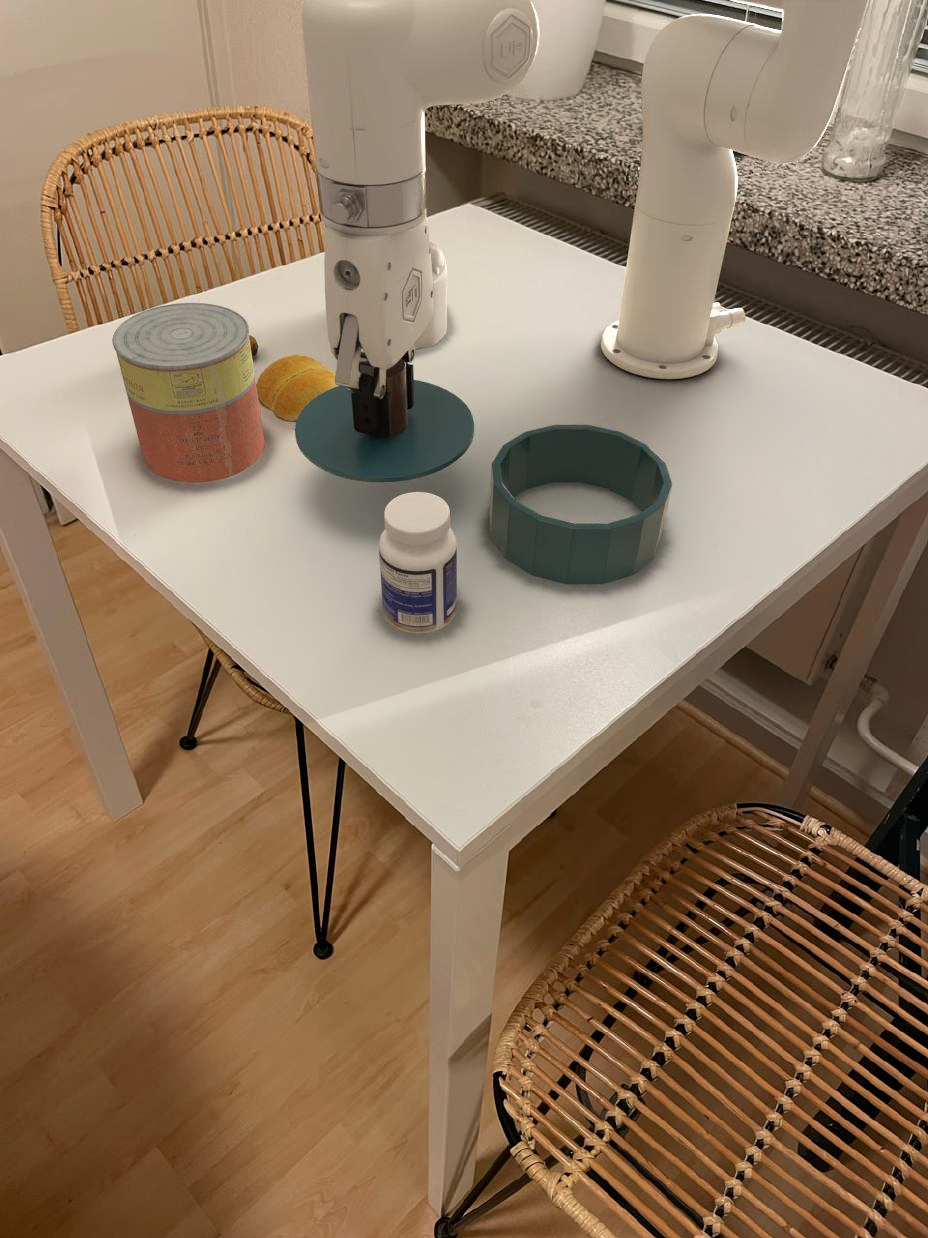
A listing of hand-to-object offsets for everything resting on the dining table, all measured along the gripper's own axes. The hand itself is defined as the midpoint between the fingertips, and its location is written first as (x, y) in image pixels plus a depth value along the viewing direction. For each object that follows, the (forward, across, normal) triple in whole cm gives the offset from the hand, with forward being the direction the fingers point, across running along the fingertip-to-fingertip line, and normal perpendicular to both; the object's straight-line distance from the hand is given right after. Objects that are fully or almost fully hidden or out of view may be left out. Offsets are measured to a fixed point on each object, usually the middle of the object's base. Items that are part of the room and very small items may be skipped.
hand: (384, 416), depth 79 cm
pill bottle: (+8, -13, -8) cm, 17 cm away
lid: (+1, 0, 0) cm, 1 cm away
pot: (+8, +1, -17) cm, 19 cm away
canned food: (+8, 0, +19) cm, 20 cm away
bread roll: (+8, +11, +14) cm, 20 cm away
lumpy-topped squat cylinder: (+9, +29, +12) cm, 33 cm away
